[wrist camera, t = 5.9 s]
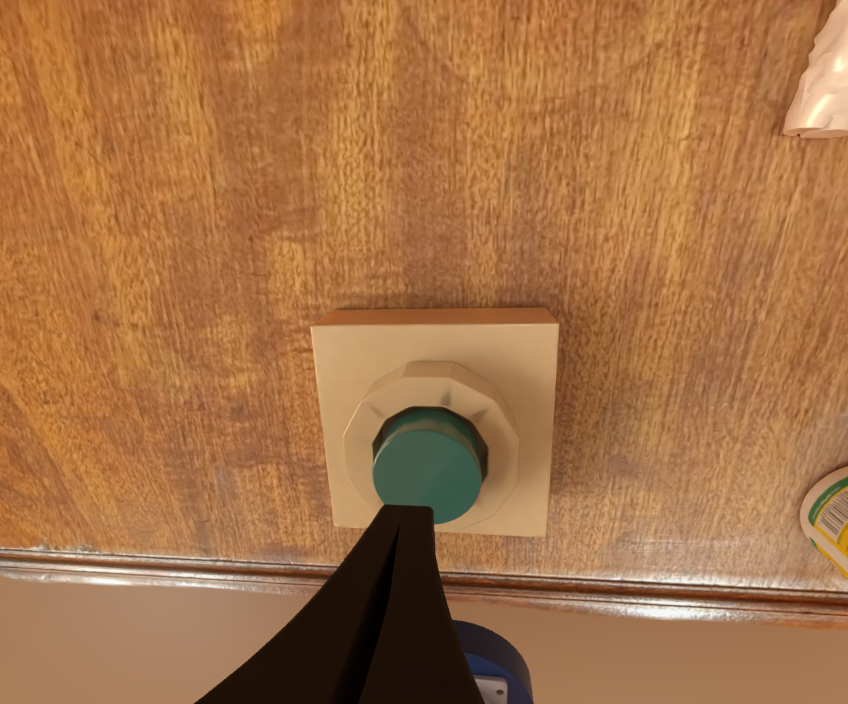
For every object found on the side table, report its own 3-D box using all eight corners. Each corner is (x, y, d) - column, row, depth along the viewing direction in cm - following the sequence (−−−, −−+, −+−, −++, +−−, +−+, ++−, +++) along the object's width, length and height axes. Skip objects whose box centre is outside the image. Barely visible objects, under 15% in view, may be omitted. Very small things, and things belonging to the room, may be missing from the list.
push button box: (537, 495, 22) (554, 569, 18) (351, 487, 24) (320, 555, 19) (546, 306, 19) (570, 335, 15) (333, 309, 21) (291, 337, 16)
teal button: (480, 498, 17) (481, 528, 16) (384, 495, 18) (375, 523, 16) (481, 409, 16) (481, 431, 15) (378, 407, 17) (367, 428, 15)
